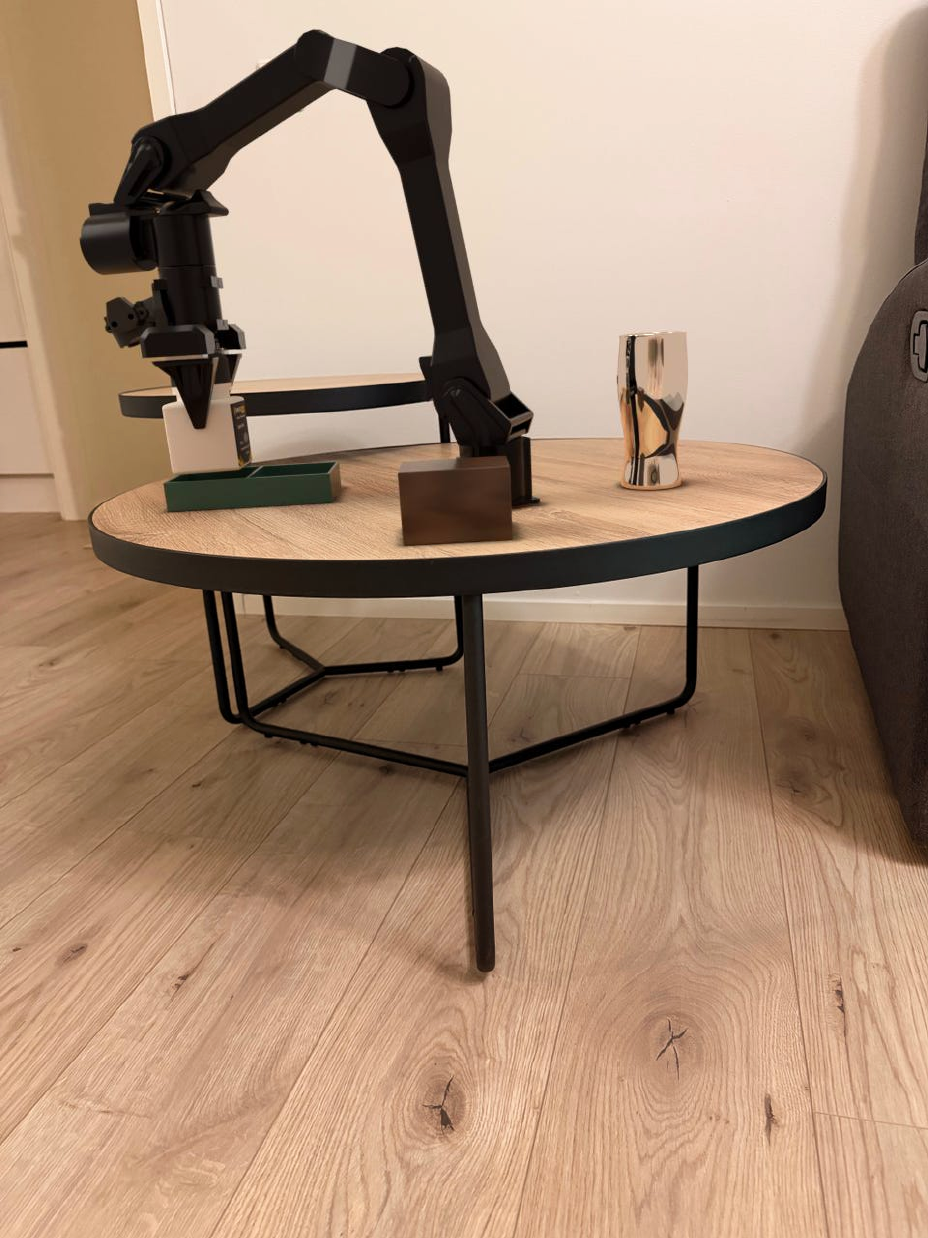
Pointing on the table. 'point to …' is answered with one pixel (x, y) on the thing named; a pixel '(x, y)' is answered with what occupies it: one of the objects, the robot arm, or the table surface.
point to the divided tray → (254, 487)
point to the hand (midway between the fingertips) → (209, 425)
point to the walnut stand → (455, 500)
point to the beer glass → (652, 406)
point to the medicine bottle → (209, 430)
